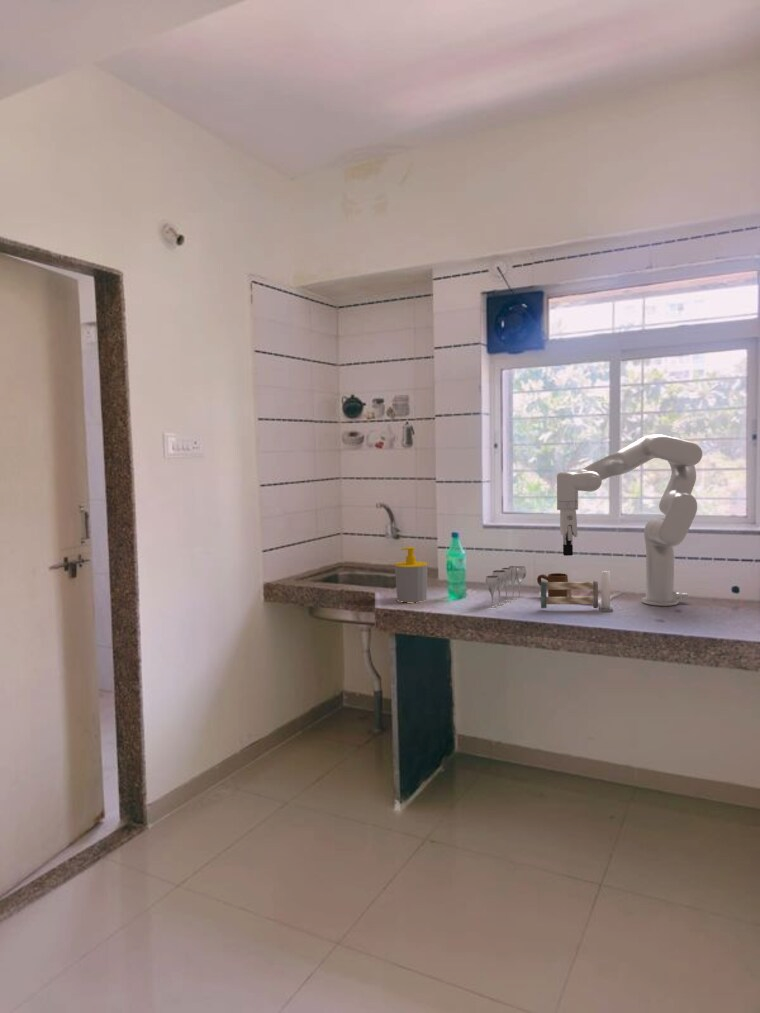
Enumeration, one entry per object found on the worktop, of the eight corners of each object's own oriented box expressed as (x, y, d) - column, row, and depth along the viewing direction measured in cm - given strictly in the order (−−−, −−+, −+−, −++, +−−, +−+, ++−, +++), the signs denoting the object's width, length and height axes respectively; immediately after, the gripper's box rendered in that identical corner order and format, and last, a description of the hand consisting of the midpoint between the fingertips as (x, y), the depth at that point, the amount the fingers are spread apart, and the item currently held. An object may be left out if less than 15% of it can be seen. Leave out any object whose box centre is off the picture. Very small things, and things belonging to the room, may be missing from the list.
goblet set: (496, 610, 251) (495, 574, 250) (482, 608, 254) (481, 573, 253) (529, 596, 273) (529, 563, 272) (516, 595, 276) (515, 562, 275)
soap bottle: (395, 597, 279) (394, 545, 277) (427, 596, 278) (426, 544, 277) (395, 604, 266) (393, 550, 264) (428, 603, 265) (427, 549, 264)
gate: (597, 606, 247) (597, 580, 246) (598, 608, 245) (598, 581, 244) (540, 607, 249) (540, 581, 248) (541, 608, 247) (541, 582, 247)
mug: (534, 598, 268) (534, 575, 267) (540, 595, 275) (539, 571, 274) (565, 601, 262) (565, 577, 261) (570, 597, 269) (570, 573, 268)
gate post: (610, 608, 248) (609, 570, 247) (613, 611, 243) (612, 572, 242) (598, 608, 248) (598, 570, 247) (601, 611, 243) (601, 572, 242)
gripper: (581, 507, 243) (581, 558, 245) (574, 503, 258) (575, 552, 260) (560, 507, 244) (560, 558, 246) (554, 504, 259) (554, 552, 260)
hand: (567, 555), depth 253 cm, fingers closed
